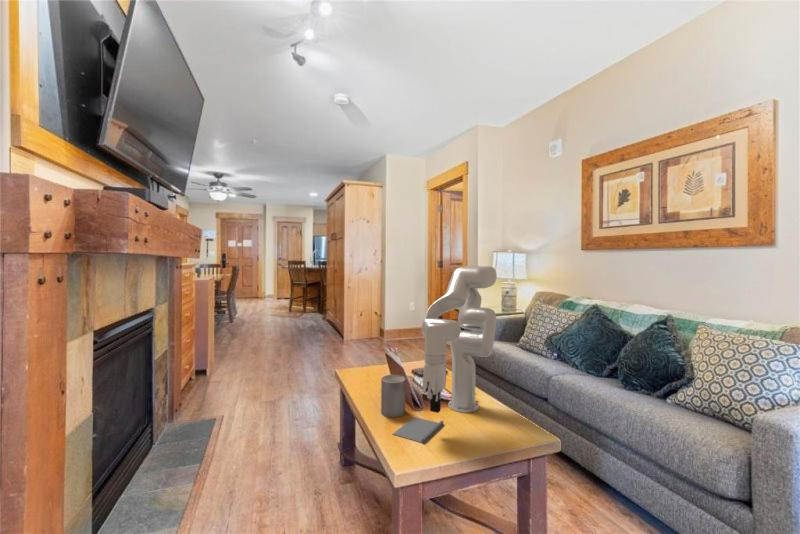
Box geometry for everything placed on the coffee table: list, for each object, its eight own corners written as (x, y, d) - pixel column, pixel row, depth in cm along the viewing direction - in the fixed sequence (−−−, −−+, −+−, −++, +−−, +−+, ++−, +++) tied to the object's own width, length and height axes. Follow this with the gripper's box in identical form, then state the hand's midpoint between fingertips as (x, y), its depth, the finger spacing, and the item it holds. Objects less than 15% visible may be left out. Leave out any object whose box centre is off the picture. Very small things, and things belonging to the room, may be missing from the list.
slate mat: (414, 417, 136) (414, 413, 136) (444, 425, 130) (444, 421, 130) (392, 435, 122) (392, 430, 122) (424, 444, 116) (424, 439, 116)
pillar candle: (388, 406, 147) (388, 370, 147) (409, 410, 143) (409, 373, 143) (376, 415, 139) (376, 376, 139) (398, 419, 134) (398, 380, 134)
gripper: (434, 352, 131) (434, 401, 131) (415, 362, 118) (415, 416, 118) (453, 355, 127) (453, 406, 127) (436, 365, 114) (436, 421, 114)
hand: (435, 411), depth 123 cm, fingers closed
